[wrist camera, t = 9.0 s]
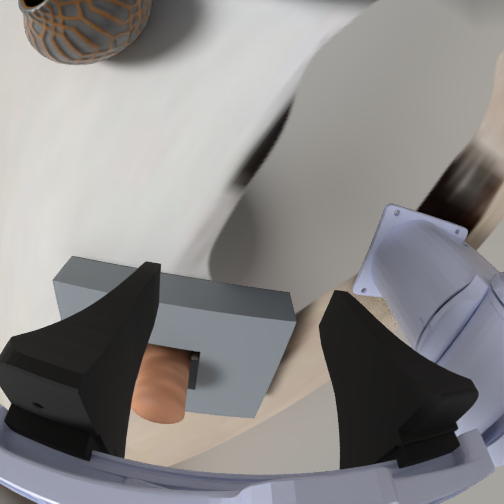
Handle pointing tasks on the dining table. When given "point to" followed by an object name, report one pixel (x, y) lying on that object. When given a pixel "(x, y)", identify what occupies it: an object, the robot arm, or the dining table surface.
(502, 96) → the dining table surface
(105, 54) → the vase
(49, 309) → the dining table surface
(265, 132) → the dining table surface
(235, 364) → the socket board
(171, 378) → the peg
